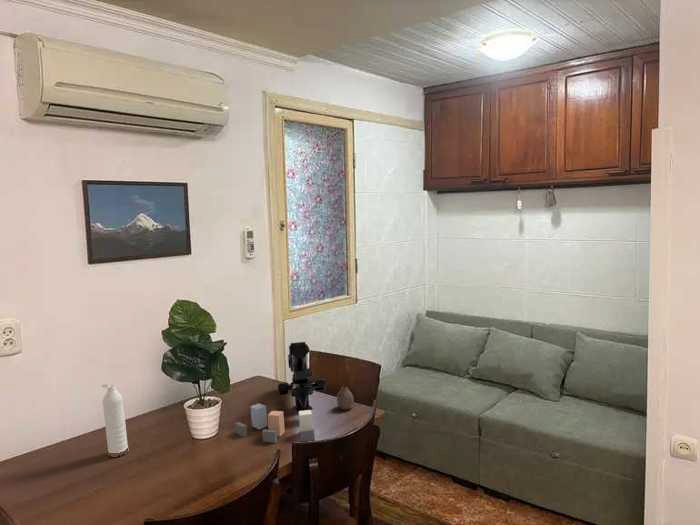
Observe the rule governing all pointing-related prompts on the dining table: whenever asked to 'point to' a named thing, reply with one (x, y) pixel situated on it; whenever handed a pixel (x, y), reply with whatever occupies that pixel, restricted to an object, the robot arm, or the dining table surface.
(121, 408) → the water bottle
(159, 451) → the dining table surface
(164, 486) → the dining table surface
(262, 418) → the gray rectangular block
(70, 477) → the dining table surface
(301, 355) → the robot arm
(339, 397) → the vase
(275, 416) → the salmon rectangular block
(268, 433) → the block
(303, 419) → the cream rectangular block
